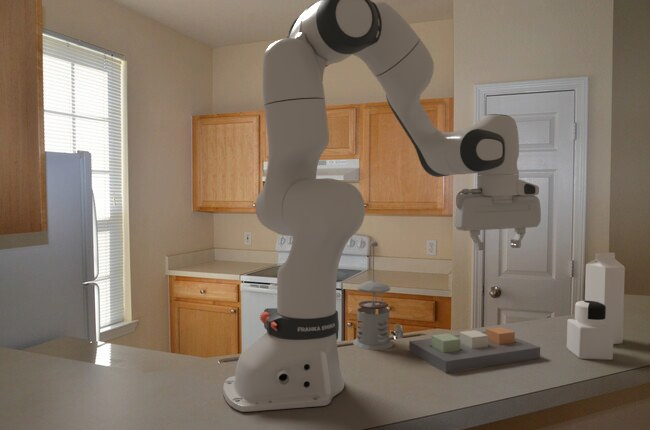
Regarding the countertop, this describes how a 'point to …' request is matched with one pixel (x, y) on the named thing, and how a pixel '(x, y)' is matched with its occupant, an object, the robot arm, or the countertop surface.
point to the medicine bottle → (590, 332)
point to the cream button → (473, 339)
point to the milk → (607, 290)
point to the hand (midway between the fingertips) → (497, 248)
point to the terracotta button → (500, 335)
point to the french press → (373, 317)
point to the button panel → (474, 354)
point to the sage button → (445, 343)
